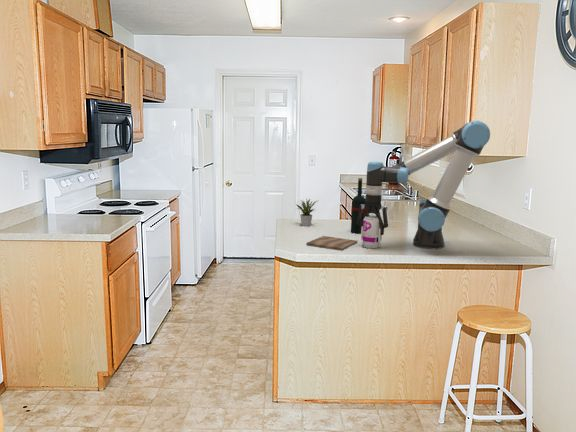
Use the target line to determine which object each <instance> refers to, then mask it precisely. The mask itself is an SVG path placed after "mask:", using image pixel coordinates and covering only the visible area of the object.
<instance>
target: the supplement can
mask: <svg viewBox="0 0 576 432" xmlns="http://www.w3.org/2000/svg"><path fill="white" fill-rule="evenodd" d="M379 228H380V225H379V220H378V218H377V217H376V215H375V214H374V215H370V214H369V215H368V216H367V217H366V216H365V218H364V223H363V240H362V242H361V245H362V246H363V247H364V248H366V249H377V248H379V247H380V245H381V244H380V243H381V242H378V236H379Z"/></svg>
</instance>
